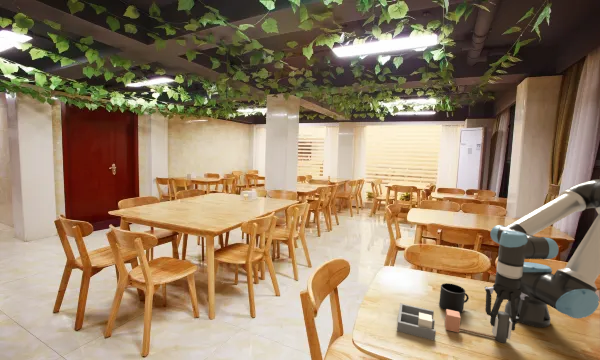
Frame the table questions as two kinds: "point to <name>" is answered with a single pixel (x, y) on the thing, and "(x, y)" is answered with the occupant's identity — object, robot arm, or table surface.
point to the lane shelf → (414, 321)
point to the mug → (452, 297)
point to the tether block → (454, 325)
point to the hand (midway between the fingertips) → (500, 335)
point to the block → (425, 320)
